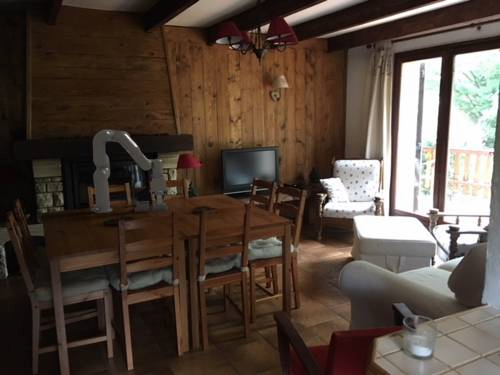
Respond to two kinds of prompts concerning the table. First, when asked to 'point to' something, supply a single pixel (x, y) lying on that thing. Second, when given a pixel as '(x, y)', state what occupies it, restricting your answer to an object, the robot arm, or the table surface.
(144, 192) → the magazine
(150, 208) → the socket panel
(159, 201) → the plug
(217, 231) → the table surface
